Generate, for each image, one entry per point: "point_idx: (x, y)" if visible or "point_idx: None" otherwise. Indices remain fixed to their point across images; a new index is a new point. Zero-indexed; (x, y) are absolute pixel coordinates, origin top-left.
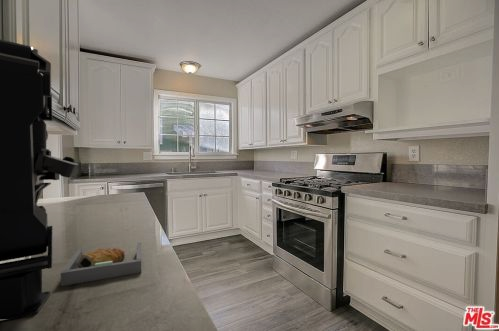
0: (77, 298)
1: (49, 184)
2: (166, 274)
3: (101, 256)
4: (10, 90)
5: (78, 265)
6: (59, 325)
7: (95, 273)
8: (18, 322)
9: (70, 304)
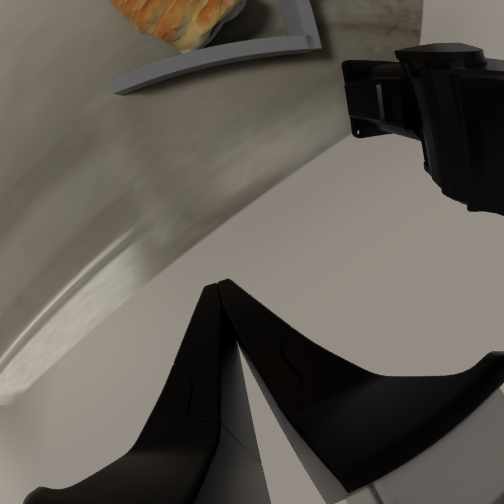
0: (362, 13)
1: (57, 496)
2: None
3: None
4: None
5: (203, 47)
6: (419, 30)
7: None
8: None
9: (378, 21)
